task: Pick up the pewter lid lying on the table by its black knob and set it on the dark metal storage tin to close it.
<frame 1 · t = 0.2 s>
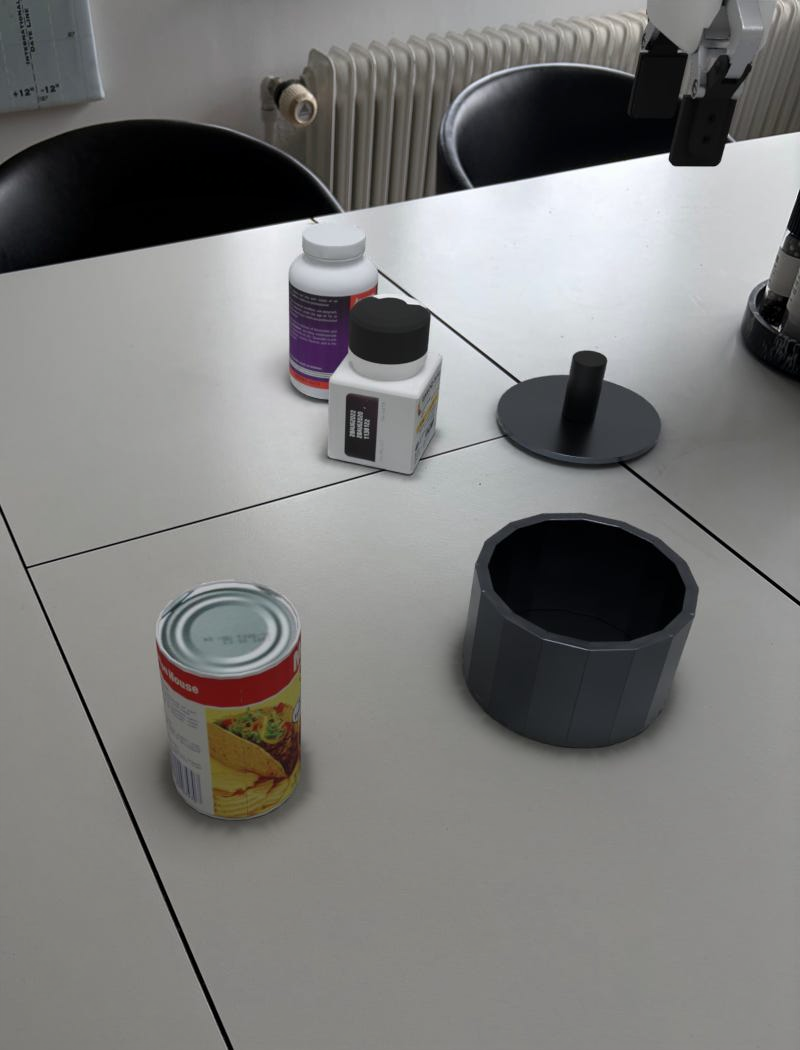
hand: (670, 139, 69), 27 cm above the table, tool pointing down, fingers open, 9 cm apart
tin lid: (577, 419, 94), point 1 cm above the table
container: (381, 447, 92), on the table
tin: (562, 672, 71), on the table
pill bottle: (331, 385, 100), on the table
canned food: (237, 771, 64), on the table
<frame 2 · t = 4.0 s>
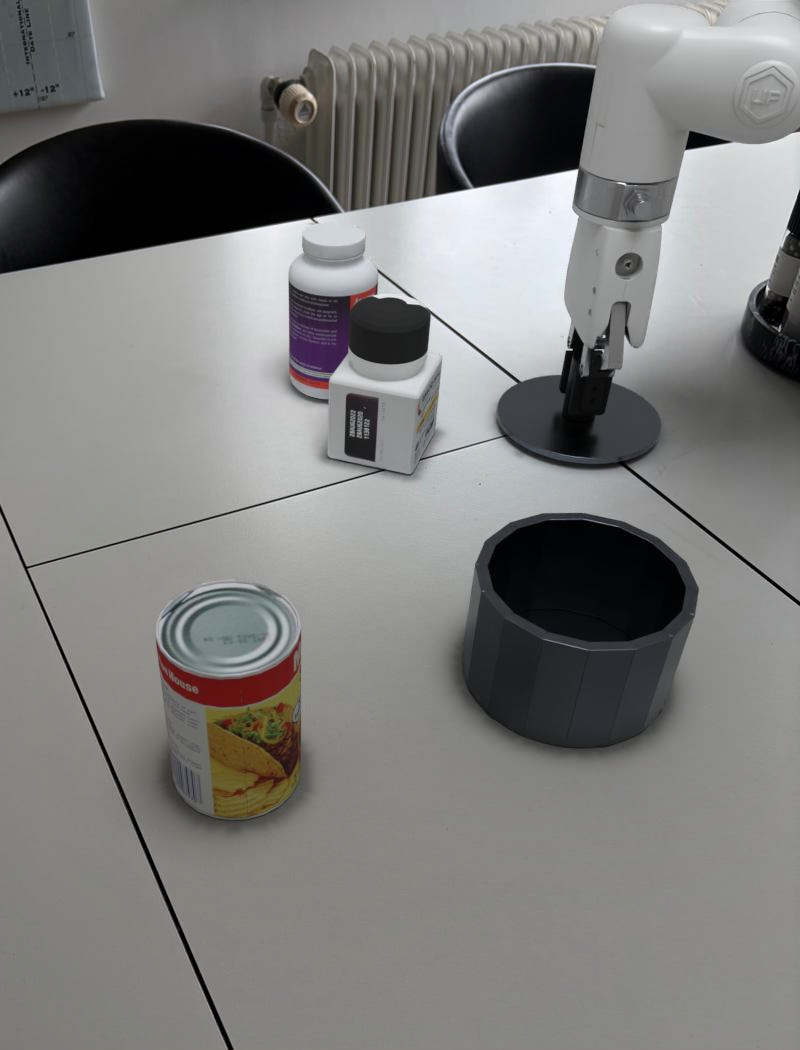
hand: (581, 401, 93), 3 cm above the table, tool pointing down, fingers closed on tin lid, 3 cm apart
tin lid: (577, 419, 94), point 1 cm above the table, touching gripper
everything else where it was.
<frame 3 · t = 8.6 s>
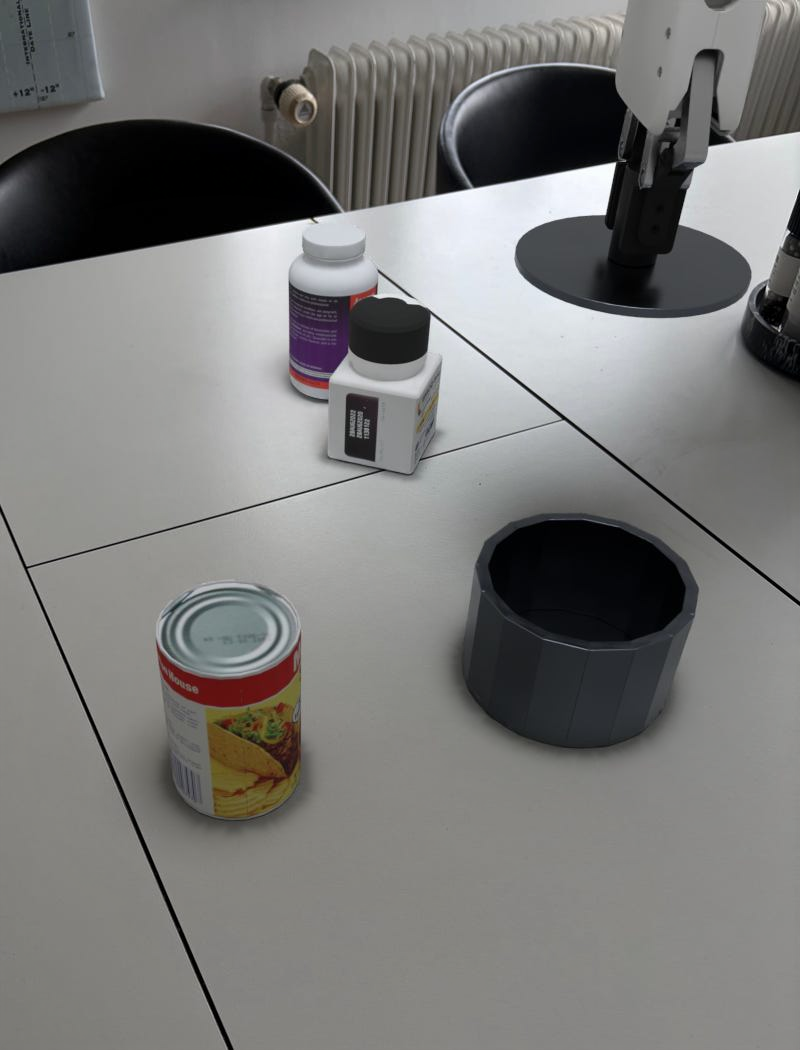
hand: (637, 237, 65), 24 cm above the table, tool pointing down, fingers closed on tin lid, 3 cm apart
tin lid: (629, 267, 66), point 22 cm above the table, touching gripper
everything else where it was.
when the fingers open (10 cm above the table, at t = 13.1 s): tin lid stays where it is, resting on tin.
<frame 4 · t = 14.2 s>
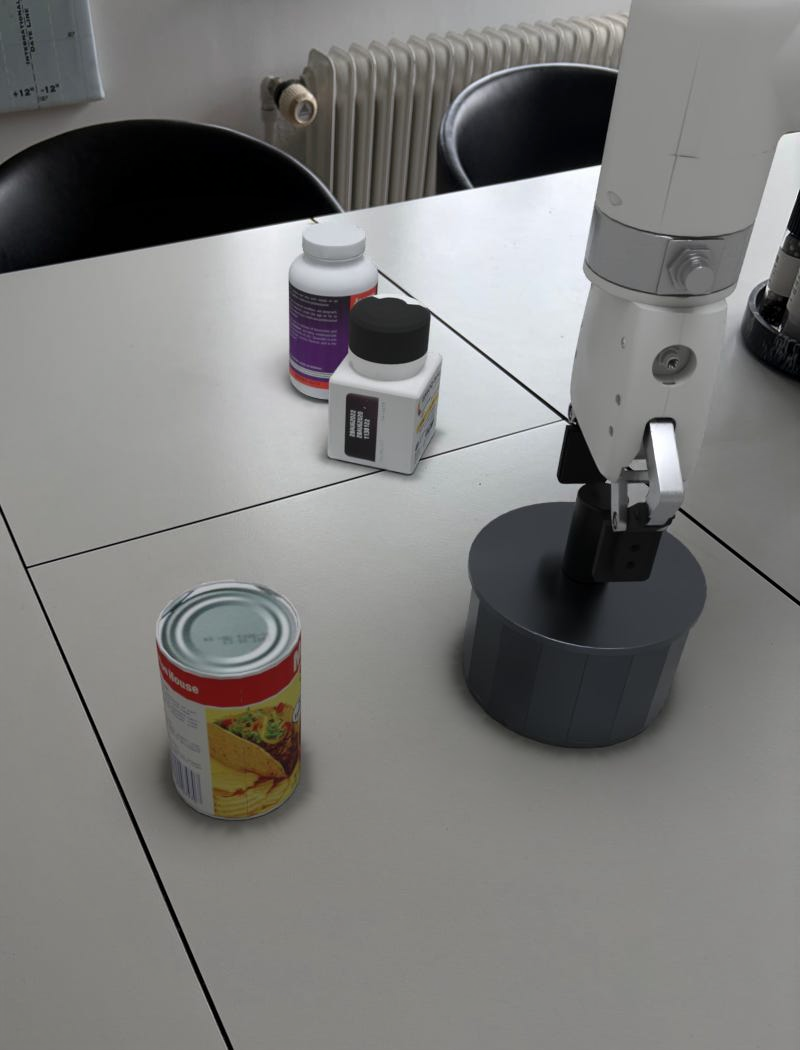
hand: (599, 527, 63), 12 cm above the table, tool pointing down, fingers open, 9 cm apart
tin lid: (584, 576, 65), point 8 cm above the table, touching tin
everything else where it was.
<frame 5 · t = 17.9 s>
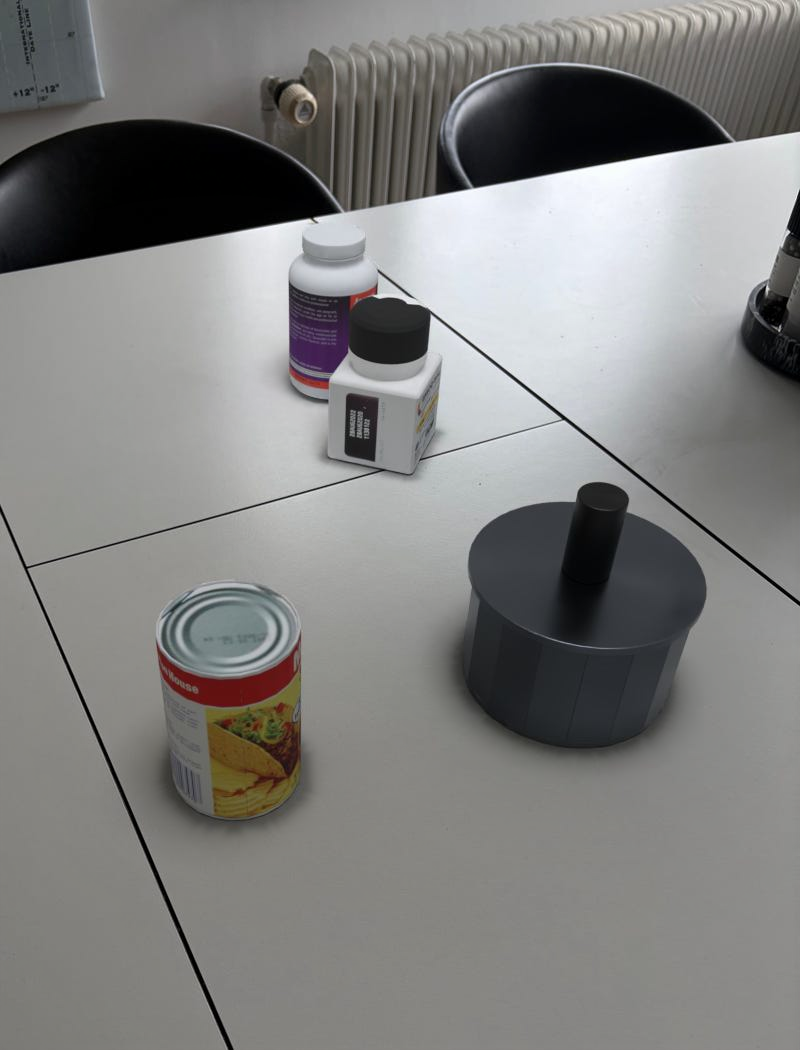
nothing on the table moved.
at the end: tin lid 0.1 cm off-centre on the tin, point 8.5 cm above the tin's base; tin lid tilted 0°; the gripper is holding nothing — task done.
